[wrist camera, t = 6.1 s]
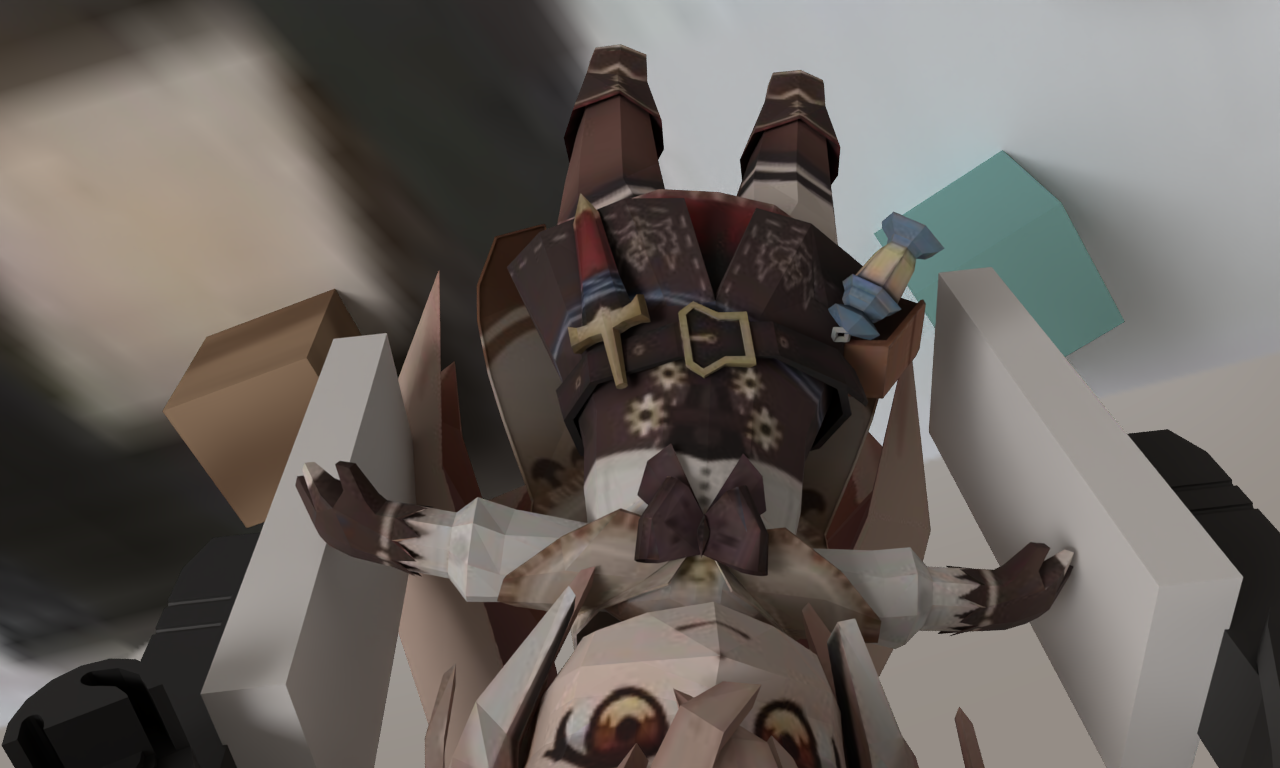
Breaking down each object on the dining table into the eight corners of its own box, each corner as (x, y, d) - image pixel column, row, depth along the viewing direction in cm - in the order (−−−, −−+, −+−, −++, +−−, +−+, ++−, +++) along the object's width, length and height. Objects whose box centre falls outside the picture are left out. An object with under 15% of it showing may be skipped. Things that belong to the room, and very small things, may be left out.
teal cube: (873, 232, 38) (914, 294, 33) (1001, 149, 36) (1061, 202, 32) (938, 333, 40) (984, 403, 35) (1061, 258, 38) (1124, 321, 34)
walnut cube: (207, 336, 38) (162, 410, 34) (335, 287, 37) (306, 357, 33) (279, 445, 40) (246, 528, 36) (400, 401, 40) (381, 480, 35)
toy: (1052, 18, 15) (1686, 1683, 5) (874, 406, 21) (1003, 1478, 11) (401, -79, 14) (-304, 1583, 5) (419, 349, 21) (142, 1424, 11)
